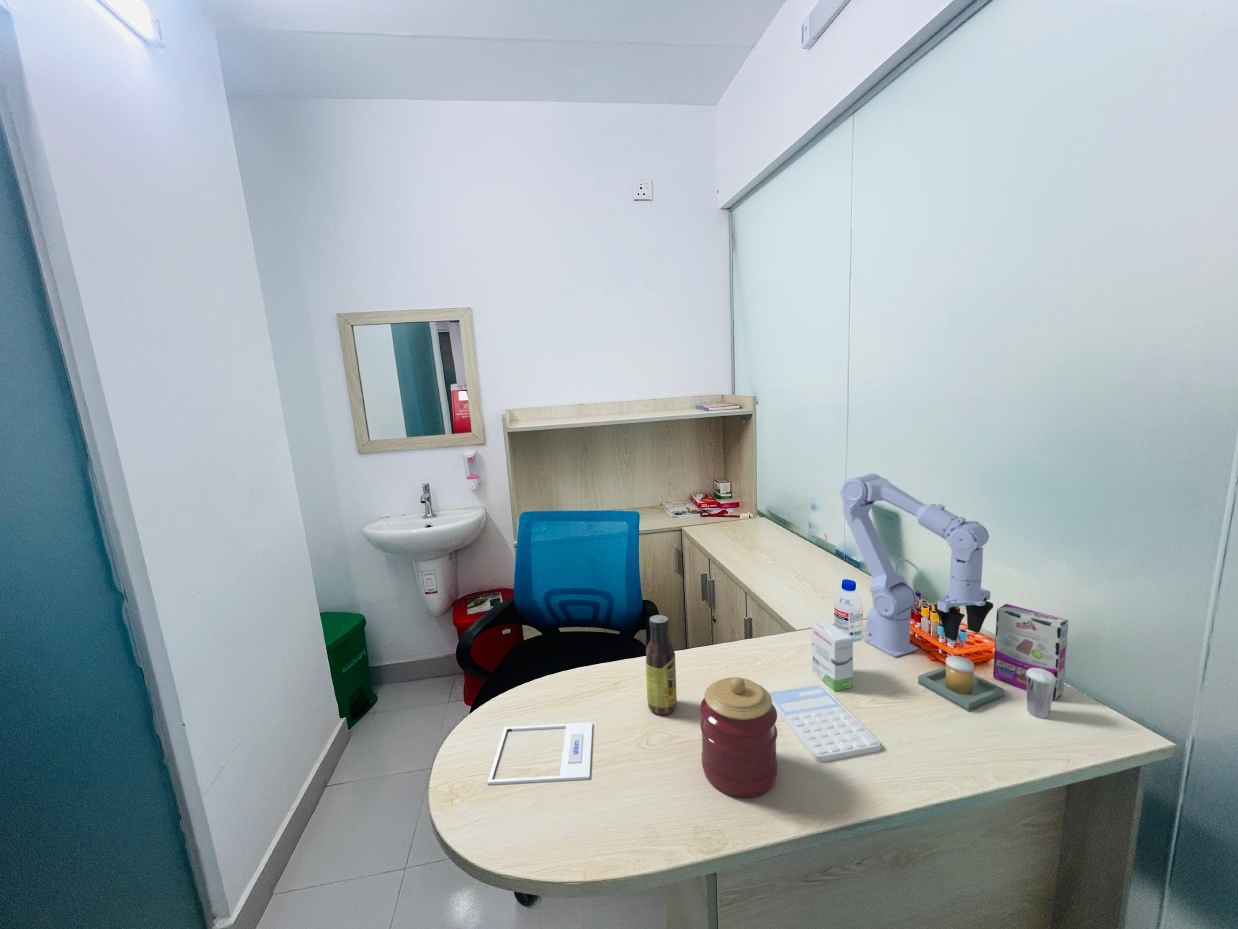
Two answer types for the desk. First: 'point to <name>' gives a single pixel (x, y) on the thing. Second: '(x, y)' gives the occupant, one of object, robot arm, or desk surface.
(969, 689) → the pill bottle
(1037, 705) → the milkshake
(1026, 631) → the candy bar box
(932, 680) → the tray
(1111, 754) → the desk surface
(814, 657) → the ink box
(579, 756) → the photo frame
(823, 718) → the calculator
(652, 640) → the sauce bottle
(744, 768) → the canister
